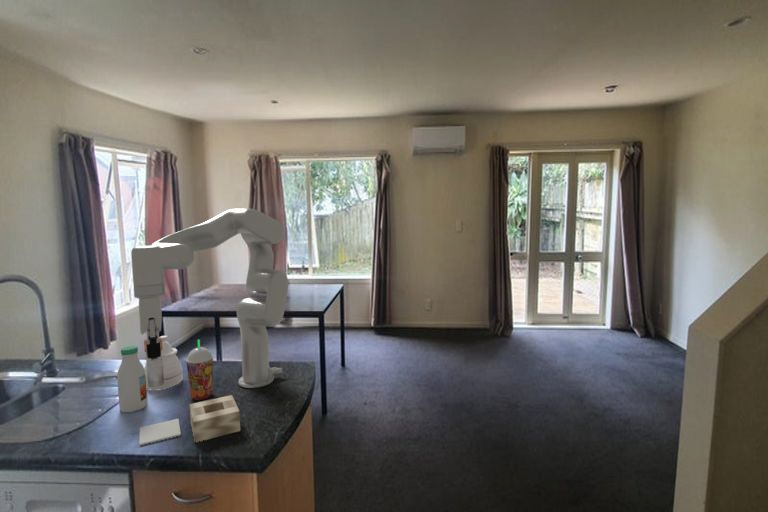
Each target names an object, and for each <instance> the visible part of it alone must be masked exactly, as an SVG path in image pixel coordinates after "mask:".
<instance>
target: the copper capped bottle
mask: <svg viewBox="0 0 768 512" xmlns="http://www.w3.org/2000/svg"><path fill="white" fill-rule="evenodd" d="M156 340H157V339H156ZM159 342H160V350H161V356H160V357H156V358H147V344H148V343H147V338H146V339H144V340H143V346H144V347H143V348H144V352H145V360H146V361H145V363H146V366H147V380H148V387H158V386H161V385H163V384H164V373H163V358H162V349H163V345H162V338H161V337H160V336H159Z"/></svg>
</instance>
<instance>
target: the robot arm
mask: <svg viewBox="0 0 768 512" xmlns="http://www.w3.org/2000/svg"><path fill="white" fill-rule="evenodd" d="M283 226H284V225H282V224H281V222H280V221H278V220H277V219H276V218H274V217H271V216H269V215H267V214H266V213H264V212H261V211H259V210H257V209H254V208H249V207H248V208H230V209H228V210H226V211H223V212H221V213H220V214H217V215H216V216H214V217H212V218H210V219H208V220H206V221H205V222H202V223H199V224H196V225H193V226H190V227H188V228H184V229H182V230H179V231H177V232H173V233H171V234H168V235H166V236H164V237H162V238H160V239H158V240H156V241H155V242H153V243H151V244H150V245H138V246H134V247H132V249H131V251H130V256H131V268H132V270H131V271H132V282H133V283H132V284H133V296H134V297H133V298H135V299H138V313H139V326H140V328H139V329H140V334H141V335H144V334H146V339H147V343H148V344H147V358H156V357H160V356H161V350H160V342H159V337H160V336H159V334H160V332H161V330H162V321H163V320H162V297H163V296H165V295H166V278H165V271H166V270H184V269H186V268H188V267H190V266H191V265H192V263H193V262H194V259H195V253H194V252H197V251H198V252H199V251H206V250H210V249H214V248H217V247H219V246H221V244H224V243H225V242H227V241H228V240H230V239H232V238H233V237H235V236H237V235H239V234H240V235H241V238H242V239H243V241H244V242H245V244H246V245H247V248H248V250H249V253H250V254H249V256H250V258H249V265H248V270H247V274H246V280H245V287H246V290H247V291H248V292H249V293H250V294H253V295H260V296H261V295H262V296H266V297H265V298H262V297H261V298H260V297H246V298H243V299H241V301H239V303H238V304H237V307H236V318H237V320H238V325H239V331H240V345H241V347H240V349H241V368H242V369H241V370H242V376H241V377H240V378H238V385H239V386H240V387H242V388H246V389H257V388H261V387H265V386H267V385H270V384H271V383H273V382H274V380H275V376H274V375H275V374H281V373H283V368H282V367H277V366H274V367H270V359H269V358H270V355H269V353H270V352H269V334H268V330H267V328H266V327H276V326H278V325H280V324H281V322H282V320H283V318H284V314H285V310H286V309H285V308H286V303H287V297H288V293H289V292H288V291H289V280H288V276H287V274H286V273H285V272H284V271H283V270H279V269H274V268H273V267H274V259H275V256H274V251H273V249H272V247H271V245H274V244H278V243H280V242H281V241H282V239H283V238H284V234H285V229H284V227H283ZM270 244H271V245H270ZM156 339H157V340H156Z"/></svg>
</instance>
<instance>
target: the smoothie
mask: <svg viewBox="0 0 768 512" xmlns="http://www.w3.org/2000/svg"><path fill="white" fill-rule="evenodd" d="M185 362H186V369H187V378H188V383H189V384H188V385H189V392H190V396H191V397H192V399H193V400H195V401H201V400H203V401H204V400H206V399H208V398H210V397H211V395H212V393H213V382H214V381H213V377H214V376H213V375H214V373H213V369H214V368H213V366H214V365H213V364H214V355H213V354H212V353H211V351H210V350H209V349H208V348H206V347H203V346H201V340H200V339H197V347H195V348H193V349H192V350H191V351H189V353H188V355H187V357H186V359H185Z"/></svg>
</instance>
